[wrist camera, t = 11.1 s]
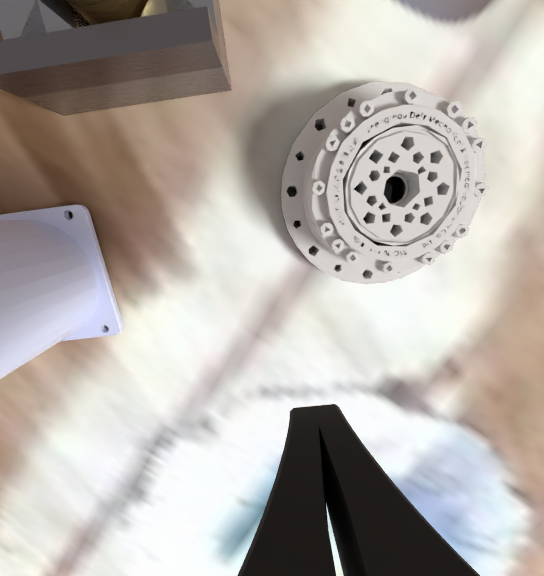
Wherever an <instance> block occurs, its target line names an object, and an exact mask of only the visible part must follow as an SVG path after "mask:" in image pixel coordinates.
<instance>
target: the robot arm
mask: <svg viewBox="0 0 544 576" xmlns="http://www.w3.org/2000/svg"><path fill="white" fill-rule="evenodd" d="M69 211H71V212H72V214H73V218H72V219H71V218H70V217H69ZM104 325H106V326H107V327H108V328H109V330H107V329H105V327H104ZM122 330H123V323H122V320H121V317H120V313H119V310H118V307H117V303H116V300H115V296H114V293H113V290H112V286H111V283H110V280H109V276H108V273H107V270H106V266H105V263H104V260H103V256H102V253H101V249H100V246H99V243H98V239H97V236H96V233H95V229H94V226H93V223H92V219H91V216H90V213H89V211H88V209H87V208H86V207H85V206H83V205H68V206H61V207H53V208H46V209H39V210H31V211H24V212H16V213H9V214H1V215H0V379H1V378H3V377H4V376H6V375H7V374H9V373H11V372H12V371H14V370H15V369H17V368H19V367H20V366H22V365H23V364H25V363H26V362H28V361H30V360H31V359H33V358H34V357H36V356H38V355H39V354H41V353H42V352H44V351H46V350H47V349H49V348H50V347H52V346H53V345H55V344H57V343H58V342H60V341H66V340H75V339H84V338H93V337H102V336H111V335H117V334H119V333H120V332H121V331H122ZM326 504H327V508H328V512H329V516H330V521H331V525H332V529H333V533H334V537H335V541H336V545H337V549H338V554H339V558H340V562H341V566H342V570H343V574H344V576H480V575H479V574H478V573H477V572H476V571H475V570H474V569H473V568H472V567H471V566H470V565H469V564H468V563H467V562H466V561H465V560H464V559H463V558H462V557H461V556H460V555H459V554H458V553H457V552H456V551H455V550H454V549H453V548H452V547H451V546H450V545H449V544H448V543H447V542H446V541H445V540H444V539H443V538H442V537H441V535H440V534H439V533H438V532H437V531H436V530H435V529H434V528H433V527H432V526H431V525H430V524H429V523H428V522H427V521H426V519H425V518H424V517H423V516H422V515H421V514H420V513H419V512H418V511H417V509H416V508H415V507H414V506H413V505H412V504H411V503H410V501H409V500H408V499H407V498H406V497H405V496H404V495H403V493H402V492H401V491H400V490H399V489H398V488H397V486H396V485H395V484H394V483H393V482H392V480H391V479H390V478H389V477H388V476H387V474H386V473H385V472H384V471H383V469H382V468H381V467H380V465H379V464H378V463H377V462H376V460H375V459H374V458H373V456H372V455H371V454H370V453H369V451H368V450H367V449H366V447H365V446H364V445H363V443H362V442H361V441H360V439H359V438H358V436H357V435H356V433H355V432H354V431H353V429H352V428H351V426H350V425H349V423H348V422H347V420H346V418H345V417H344V415H343V413H342V412H341V410H340V408H339V407H338V406H337V405H335V404H331V405H321V406H310V407H300V408H293V409H292V410H291V411H290V421H289V428H288V433H287V438H286V442H285V447H284V451H283V454H282V458H281V461H280V465H279V469H278V472H277V475H276V479H275V482H274V485H273V487H272V490H271V493H270V496H269V499H268V502H267V505H266V508H265V510H264V513H263V516H262V518H261V521H260V524H259V526H258V529H257V531H256V534H255V536H254V539H253V541H252V544H251V546H250V548H249V551H248V553H247V555H246V558H245V560H244V562H243V565H242V567H241V569H240V571H239V573H238V576H336V572H335V567H334V561H333V555H332V549H331V543H330V538H329V532H328V522H327V510H326Z"/></svg>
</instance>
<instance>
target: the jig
mask: <svg viewBox="0 0 544 576" xmlns="http://www.w3.org/2000/svg"><path fill="white" fill-rule="evenodd" d="M0 31H1V34H2V37H3V40H0V88H1V89H3V90H5V91H8V92H10V93H12V94H15V95H17V96H19V97H22V98H24V99H26V100H29V101H31V102H34V103H36V104H38V105H41V106H43V107H45V108H48V109H50V110H52V111H55V112H57V113H59V114H62V115H69V114H75V113H82V112H89V111H95V110H102V109H109V108H115V107H122V106H129V105H135V104H142V103H148V102H155V101H162V100H168V99H175V98H182V97H188V96H195V95H202V94H208V93H215V92H222V91H228V90H231V84H230V77H229V70H228V63H227V56H226V49H225V42H224V35H223V28H222V21H221V14H220V7H219V0H149V1H148V3H147V5H146V7H145V9H144V10H143V12H142V14H141V16H140V17H138V18H132V19H126V20H120V21H114V22H108V23H102V24H96V25H90V26H84V27H78V28H76V24H75V20H74V16H73V12H72V9H71V5H70V4H69V3H68V2H67V1H66V0H0Z"/></svg>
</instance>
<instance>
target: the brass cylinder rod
mask: <svg viewBox="0 0 544 576" xmlns="http://www.w3.org/2000/svg"><path fill="white" fill-rule="evenodd" d="M66 1H67V2H68V3H69V4H70V5H71V6H72V7H73V8H74V9H75V10H76V11H77V12H78V13H79V14H80V15H81V16H82V17H83V18H84V19H85V20H86V21H87V22H88V23H89V24H91V25H96V24H102V23H108V22H114V21H120V20H126V19H132V18H138V17H140V16H141V14H142V12H143V10H144V9H145V7H146V5H147V3H148V1H149V0H66Z"/></svg>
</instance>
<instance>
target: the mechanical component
mask: <svg viewBox="0 0 544 576" xmlns="http://www.w3.org/2000/svg"><path fill="white" fill-rule="evenodd" d="M348 106H350V107H348ZM461 110H462V107H461V104H460V103H459V102H458V101H456V102H452V103H451V102H449V101H448V100H446V99H444V98H442V97H440V96H438V95H436V94H433V93H430V92H428V91H426V90H423V89H421V88H419V87H417V86H414V85H412V84H410V83H400V82H370V83H367V84H364V85H362V86H359V87H356V88H353V89H350V90H347V91H345V92H342V93H340V94H339V95H337V96H336V97H335V98H334V99H332V100H331V101H330V102H328V103H327V104H326V105H324V106H323V107H322V108H321V109H319V110H318V111H317V112H315V113H314V114H313V115H312V117H311V118H310V119H309V121H308V122H307V124H306V125H305V127H304V128H303V129H302V131H301V132H300V134H299V135H298V137H297V138H296V139H295V141H294V142H293V144H292V147H291V150H290V153H289V156H288V159H287V162H286V165H285V168H284V172H283V176H282V189H281V195H282V212H283V215H284V219H285V222H286V226H287V230H288V232H289V234H290V236H291V237H292V239H293V241H294V242H295V244H296V246H297V247H298V248H299V249H300V251H301V252H302V253H303V254H304V256H305V257H306V258H307V259H308V260H309V261H310V262H311V263H313V264H314V265H315V266H316V267H318V268H319V269H320V270H322V271H323V272H325V273H327V274H329V275H332V276H334V277H336V278H338V279H340V280H343V281H348V282H355V283H362V284H372V283H384V282H388V281H392V280H395V279H399V278H403V277H405V276H407V275H409V274H411V273H413V272H415V271H417V270H419V269H420V268H422V267H423V266H424V265H430V264H432V263H433V262H434V261H435V259H436V258H437V257H438V256H440V255H441V254H442V253H444V254H445V253H448V252H450V251H452V249H453V244H454V243H455V242H456V240H457V239H458V238H462V237H464V236H466V235H467V234H468V231H469V228H468V226H469V225H470V223H471V221H472V219H473V216H474V214H475V212H476V210H477V207H478V205H479V203H480V201H481V196H485V194H486V192H487V190H488V188H489V187H488V186H487V185H486V184H485V183H484V180H485V164H484V152H483V150H484V149H485V147H486V145H487V144H486V139H484V138H481V137H478V134H477V132H476V125H477V121H476V120H475V118H474V117H468V118H467V117H466V116H465V115H464V113H463V112H462V111H461ZM317 124H320V125H321V126H322V127H323V129H322V130H320V131H318V130H317V129H316V128H315V125H317ZM363 142H367V143H365V144H362V143H363ZM361 144H362V145H361ZM360 146H362V147H361V148H360ZM359 148H360V149H359ZM296 155H297V156H301V157H302V160H300V161H298V159H297V158H296ZM369 157H371V160H370V159H369ZM394 176H397V177H400V178H401V180H402V183H403V198H402V199H401V200H400V201H398V202H396V203H394V202H393V201H392V200H391V193H392V186H391V183H390V184H388V183H387V182H386V180H387V179H388V178H389V177H394ZM388 181H389V180H388ZM389 182H390V181H389ZM356 186H358V187H357V191H355V190H354V188H355V187H356ZM289 187H294V188H295V189H296V195H295V196H294V197H289V195H288V193H287V189H288V188H289ZM366 201H368V202H366ZM365 215H366V220H365V221H364V220H363V218H364V217H365ZM294 221H299V226H297V227H294V225H293V224H294ZM312 246H315V247H316V250H315V252H312V253H309V248H311V247H312ZM336 265H337V267H335V266H336ZM365 270H367V271H366V273H365V274H363V272H364V271H365Z"/></svg>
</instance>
